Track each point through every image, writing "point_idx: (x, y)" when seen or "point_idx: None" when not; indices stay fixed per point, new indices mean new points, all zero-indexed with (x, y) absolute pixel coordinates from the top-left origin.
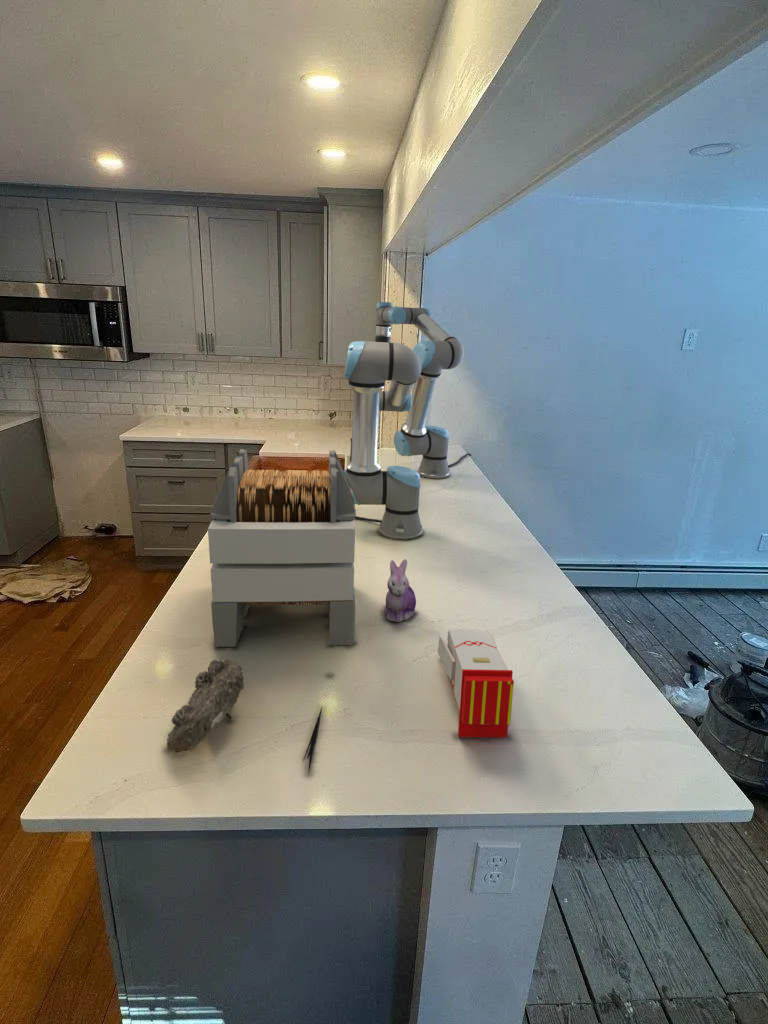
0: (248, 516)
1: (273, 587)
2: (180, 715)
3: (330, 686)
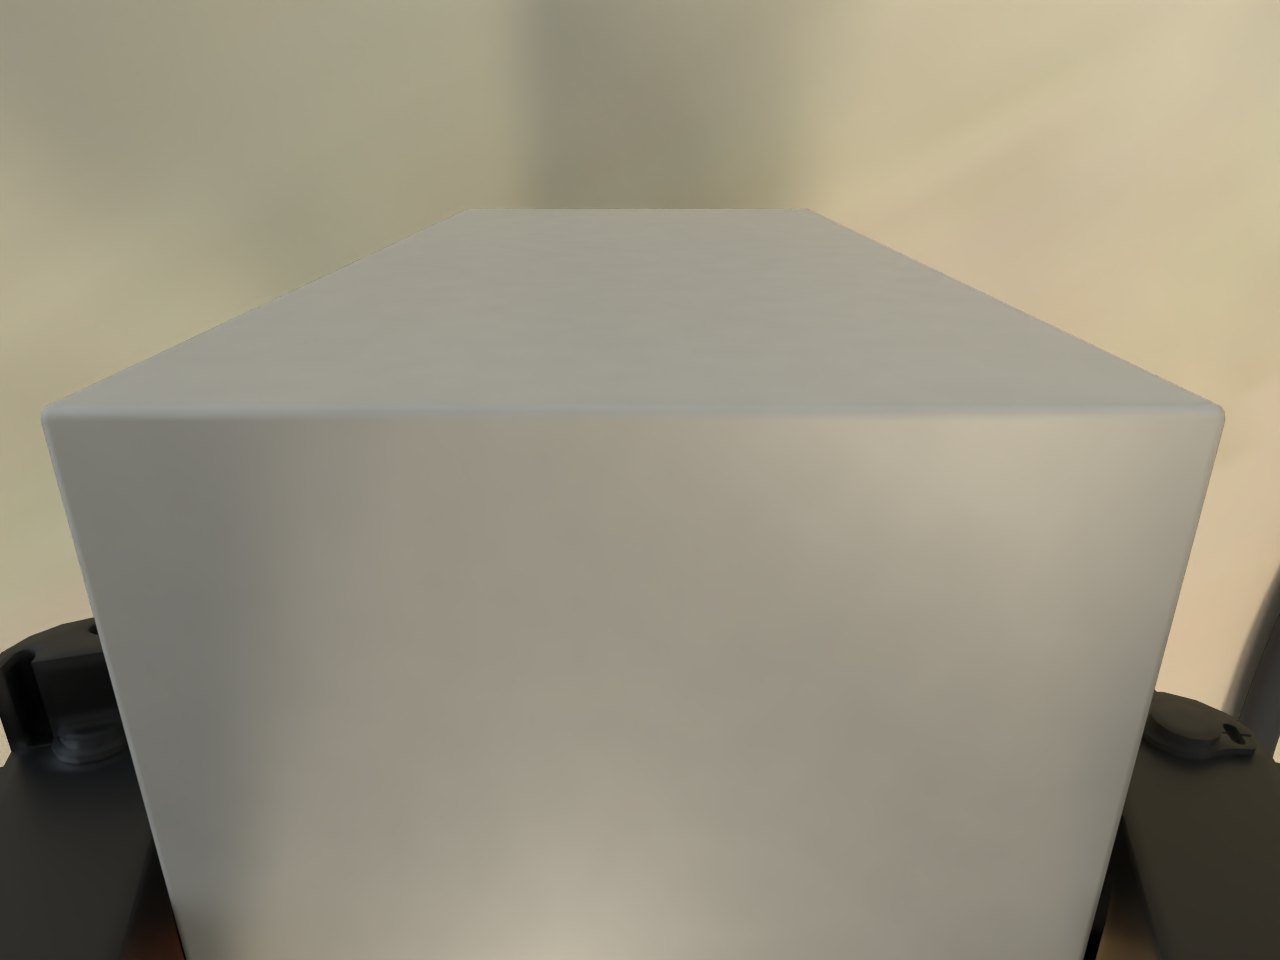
0: None
1: None
2: None
3: None
